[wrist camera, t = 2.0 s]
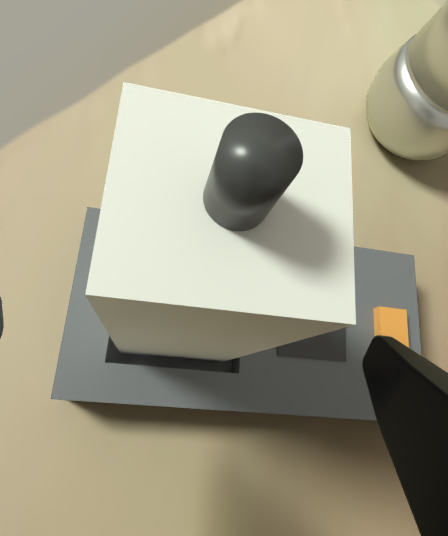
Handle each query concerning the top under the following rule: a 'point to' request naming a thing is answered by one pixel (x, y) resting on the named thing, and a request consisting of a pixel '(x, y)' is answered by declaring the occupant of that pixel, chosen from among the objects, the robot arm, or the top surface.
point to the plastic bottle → (414, 95)
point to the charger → (221, 229)
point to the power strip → (250, 366)
